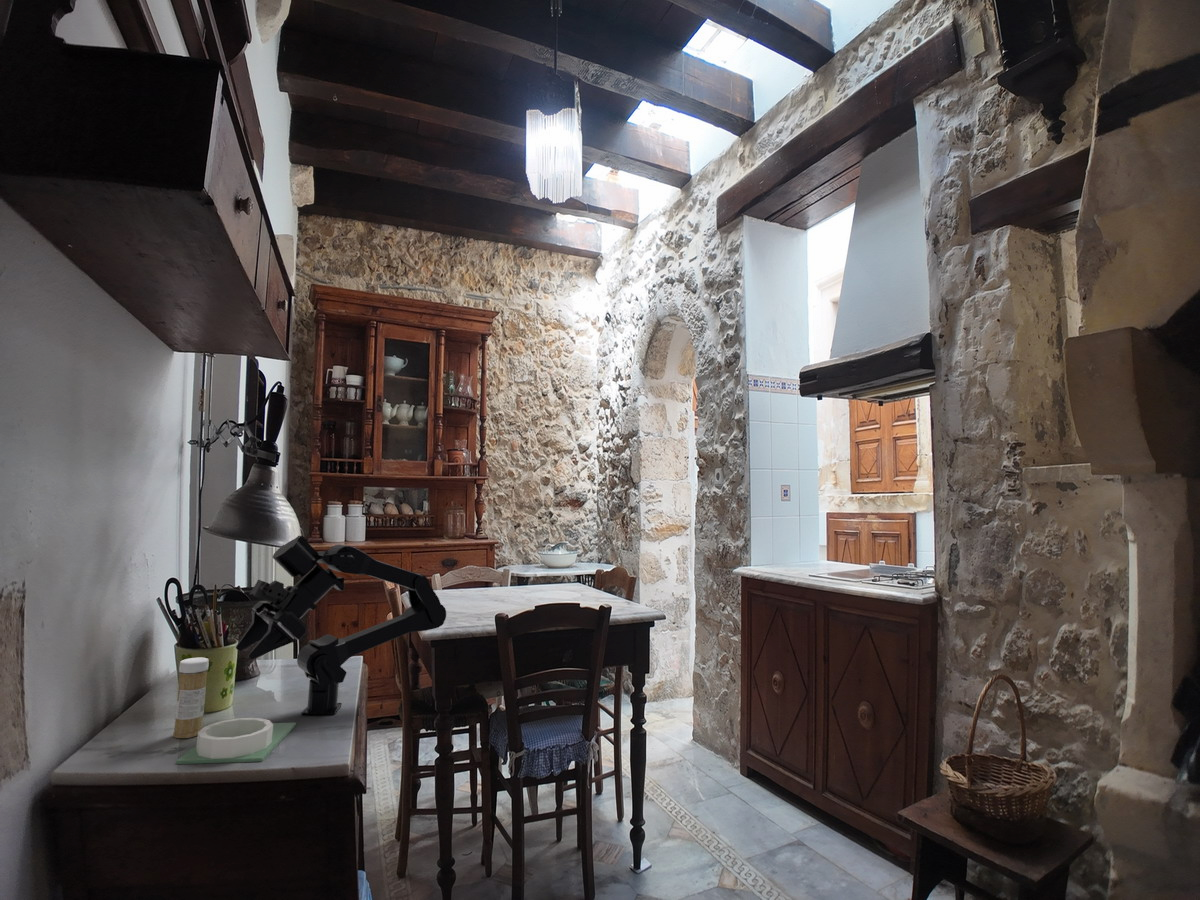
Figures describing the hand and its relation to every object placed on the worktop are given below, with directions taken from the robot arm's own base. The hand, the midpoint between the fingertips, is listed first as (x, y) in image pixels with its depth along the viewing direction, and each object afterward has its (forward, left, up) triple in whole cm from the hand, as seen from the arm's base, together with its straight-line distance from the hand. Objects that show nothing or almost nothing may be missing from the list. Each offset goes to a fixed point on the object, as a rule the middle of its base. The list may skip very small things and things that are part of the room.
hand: (243, 653), depth 121 cm
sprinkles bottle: (+4, -7, -14) cm, 16 cm away
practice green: (+9, +4, -14) cm, 17 cm away
